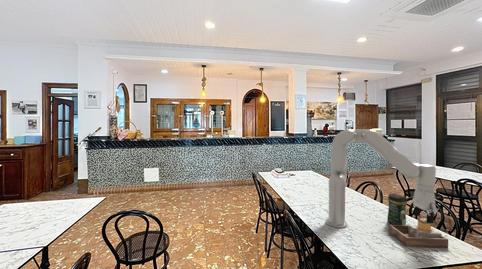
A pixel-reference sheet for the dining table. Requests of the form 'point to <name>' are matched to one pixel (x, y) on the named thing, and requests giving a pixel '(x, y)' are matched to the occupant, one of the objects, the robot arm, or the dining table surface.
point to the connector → (423, 224)
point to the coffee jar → (397, 209)
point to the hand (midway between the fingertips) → (423, 219)
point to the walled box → (418, 236)
